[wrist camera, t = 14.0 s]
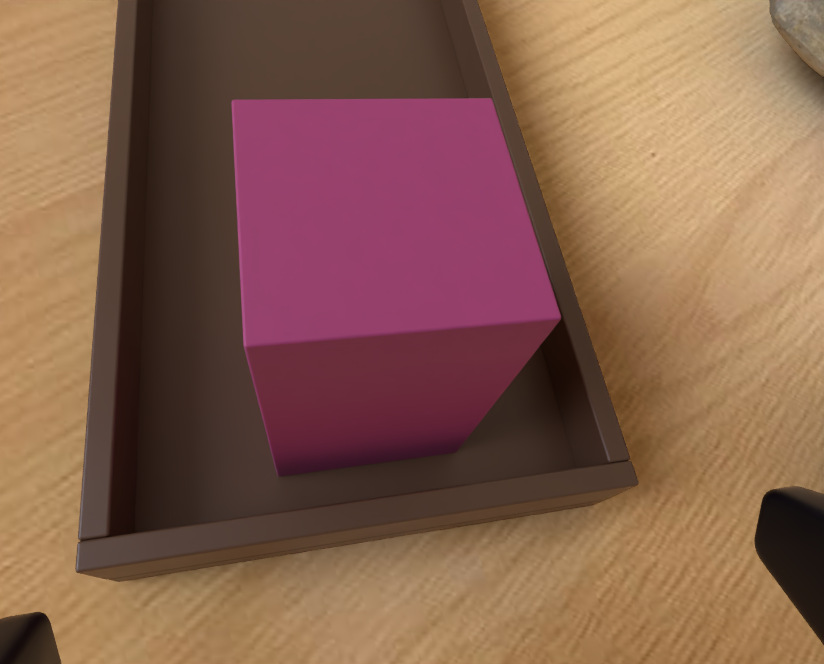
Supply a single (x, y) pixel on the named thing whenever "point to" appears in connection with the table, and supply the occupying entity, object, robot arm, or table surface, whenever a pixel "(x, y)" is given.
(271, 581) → the table surface
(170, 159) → the tray
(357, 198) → the mulberry block
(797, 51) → the bowl
